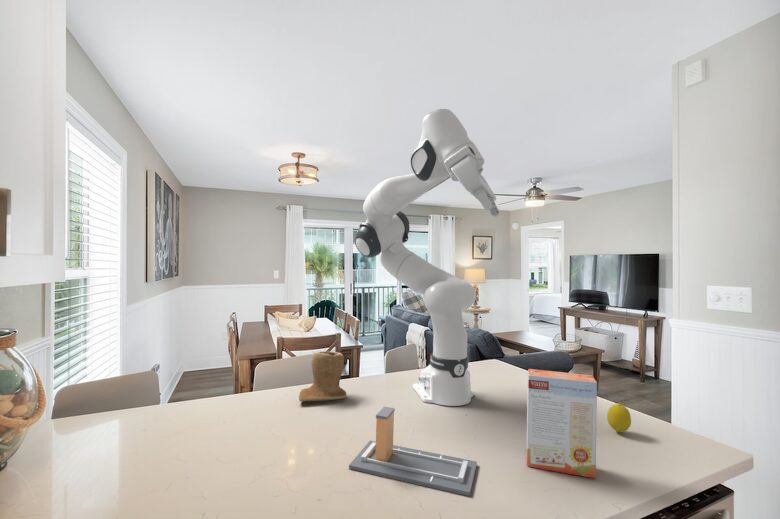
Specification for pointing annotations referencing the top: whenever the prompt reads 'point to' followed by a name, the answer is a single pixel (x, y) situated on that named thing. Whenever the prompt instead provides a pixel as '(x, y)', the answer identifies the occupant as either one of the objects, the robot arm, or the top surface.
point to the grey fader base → (419, 468)
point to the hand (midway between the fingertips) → (493, 211)
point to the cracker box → (562, 422)
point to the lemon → (619, 417)
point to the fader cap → (384, 433)
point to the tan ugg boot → (325, 378)
